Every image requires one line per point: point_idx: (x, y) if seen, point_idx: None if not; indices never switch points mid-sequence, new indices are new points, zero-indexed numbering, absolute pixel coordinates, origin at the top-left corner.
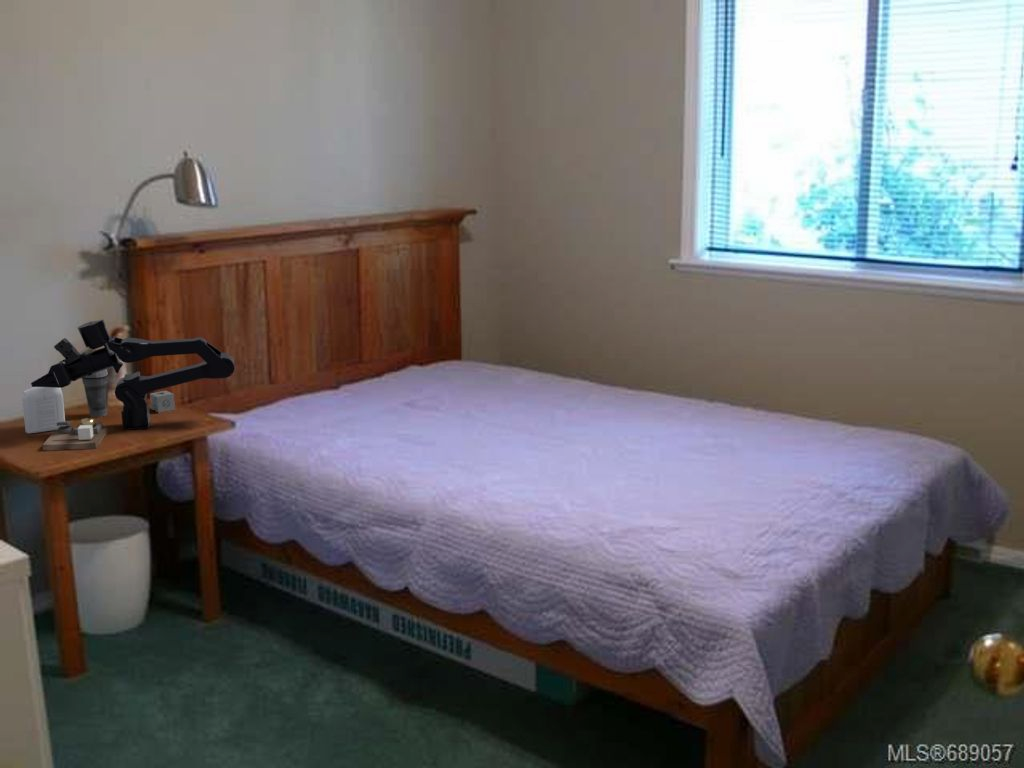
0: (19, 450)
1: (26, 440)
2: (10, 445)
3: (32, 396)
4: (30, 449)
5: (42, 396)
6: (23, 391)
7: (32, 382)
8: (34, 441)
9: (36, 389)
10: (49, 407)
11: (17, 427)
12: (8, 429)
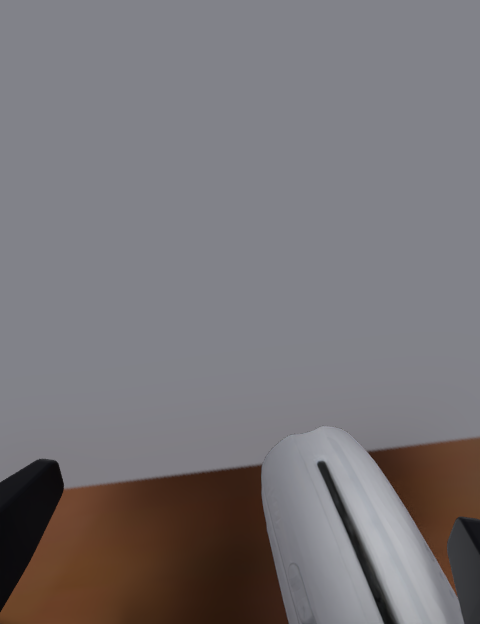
0: (52, 530)
1: (185, 548)
2: (144, 485)
3: (265, 513)
4: (31, 582)
5: (287, 616)
6: (318, 427)
7: (21, 471)
8: (149, 593)
9: (303, 533)
10: None
11: (423, 481)
12: (390, 448)
